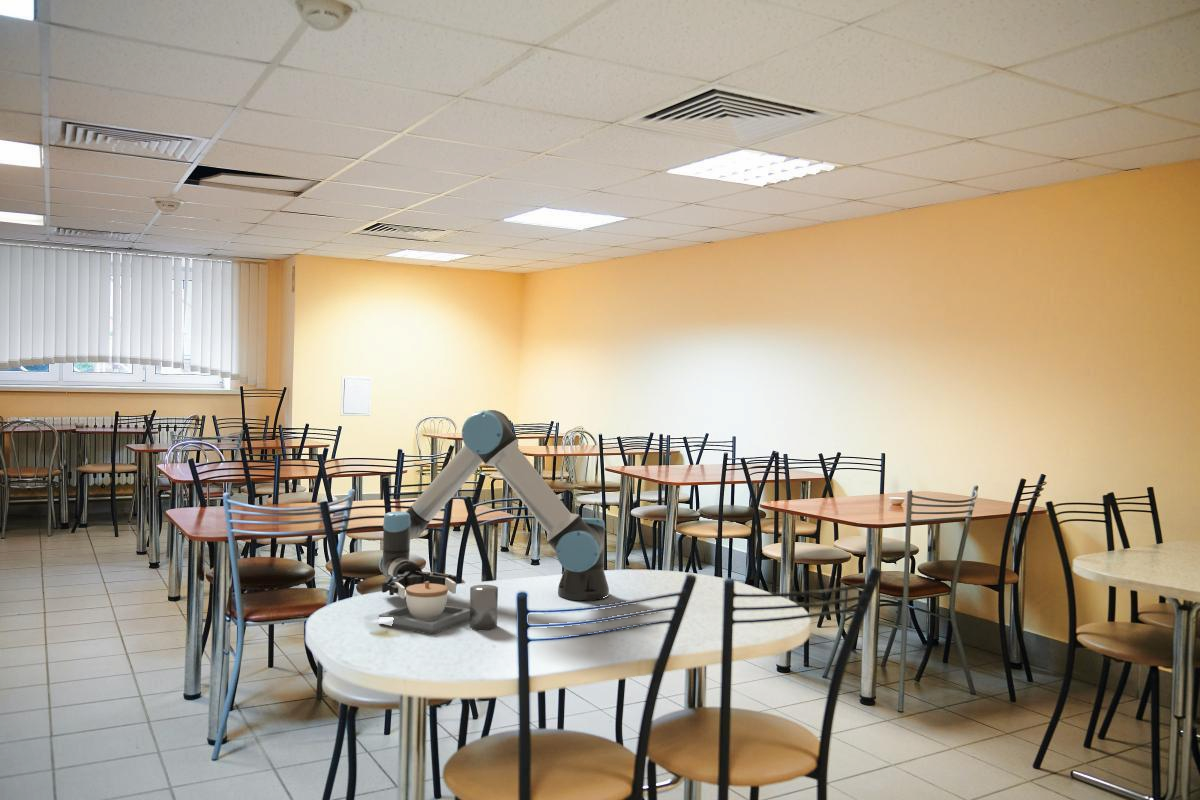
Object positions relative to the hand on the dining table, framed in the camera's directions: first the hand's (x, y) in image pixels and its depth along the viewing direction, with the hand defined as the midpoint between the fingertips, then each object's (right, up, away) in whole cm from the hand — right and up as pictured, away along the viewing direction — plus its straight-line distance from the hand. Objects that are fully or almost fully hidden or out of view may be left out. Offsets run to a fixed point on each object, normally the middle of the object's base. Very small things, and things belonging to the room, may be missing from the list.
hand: (429, 590), depth 226 cm
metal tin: (+14, -9, -1) cm, 17 cm away
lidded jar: (-1, -8, +2) cm, 8 cm away
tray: (-1, -9, +2) cm, 9 cm away
